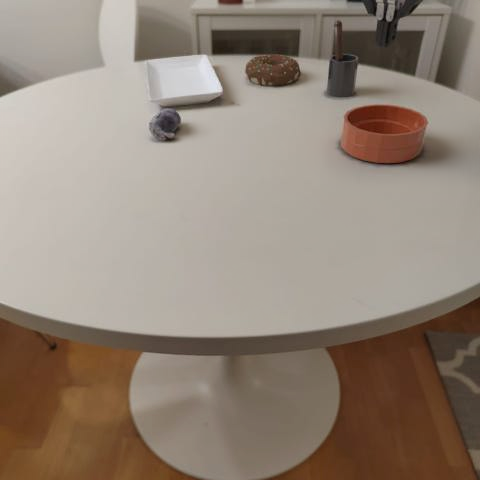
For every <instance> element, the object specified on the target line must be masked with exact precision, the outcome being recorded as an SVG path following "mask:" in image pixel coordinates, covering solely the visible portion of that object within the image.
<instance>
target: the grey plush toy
mask: <svg viewBox="0 0 480 480" xmlns="http://www.w3.org/2000/svg"><path fill="white" fill-rule="evenodd" d="M181 123H182V117H181V115H180V113H178V111H177V110H175V109H173V108H171V107H164V108H163V109H161V110H159V111H158V112H157V113H156V114H155V115H154V116H153V117H152V119H151V120H150V122H149V123H148V124H149V127H148V130H149V132H150V134H151V135H152V136H153V137H154V138H155V139H157V140H159V141H161V142H163V141H166V140H168V139H170V140H173V139H174V138H176V134H175V131H176V130H177V129H178V127H179V126H180V125H181Z"/></svg>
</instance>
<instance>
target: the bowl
mask: <svg viewBox="0 0 480 480" xmlns="http://www.w3.org/2000/svg"><path fill="white" fill-rule="evenodd" d="M342 120H343V121H342V127H341V128H342V129H341V135H340V136H341V137H340V147H341V148H342V150H343V151H344V153H346V154H348V155H349V156H351V157H353V158H355V159H358V160H361V161H365V162H370V163H376V164H396V163H397V164H398V163H404V162H406V161H411V160H413V159H415V158H417V157H418V156H419V155H420V154H421V151H422V149H423V147H424V141H425V139H426V134H427V129H428V126H429V125H428V124H429V121H428V118H427V116H425V115H424V114H423V113H421V112H419V111H417V110H415V109H412V108H410V107H405V106H402V105H401V106H400V105H394V104H366V105H365V104H364V105H361V106H357V107H353V108H352V109H349V110H348V111H346V112H345V114H344V115H343V119H342Z"/></svg>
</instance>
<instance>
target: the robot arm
mask: <svg viewBox="0 0 480 480" xmlns="http://www.w3.org/2000/svg"><path fill="white" fill-rule="evenodd" d="M361 1H362V3H363V5H364V7H365V11H366V13H367V14H368V15H372V16H374V17H376V20H377V21H376V22H377V23H376V28H375V36H374V40H375V43H376V47H378V48H379V47H380V48H385V49H386V48H389V47H391V45H392V44H393V43H395V41H396V37H397V31H398V26H399V21H400V19H403V18H406V17H408V16H410V15H412V14H413V12H414V11H415V10H416V9H417V8H418V7H419V6H420V5H421V3H423V1H424V0H361Z"/></svg>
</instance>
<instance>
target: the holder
mask: <svg viewBox="0 0 480 480" xmlns="http://www.w3.org/2000/svg"><path fill="white" fill-rule="evenodd" d="M358 67H359V57H358V56H357V55H355V54H349V53H343V61H336V60H335V54H333V55H331V56H329V59H328V68H327V69H328V71H327V79H326V80H327V81H326V82H327V83H326V94H327V95H328V96H329V97H332V98H333V97H334V98H348V97H352V96H353V95H354V94H355V89H356V82H357V75H358Z"/></svg>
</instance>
